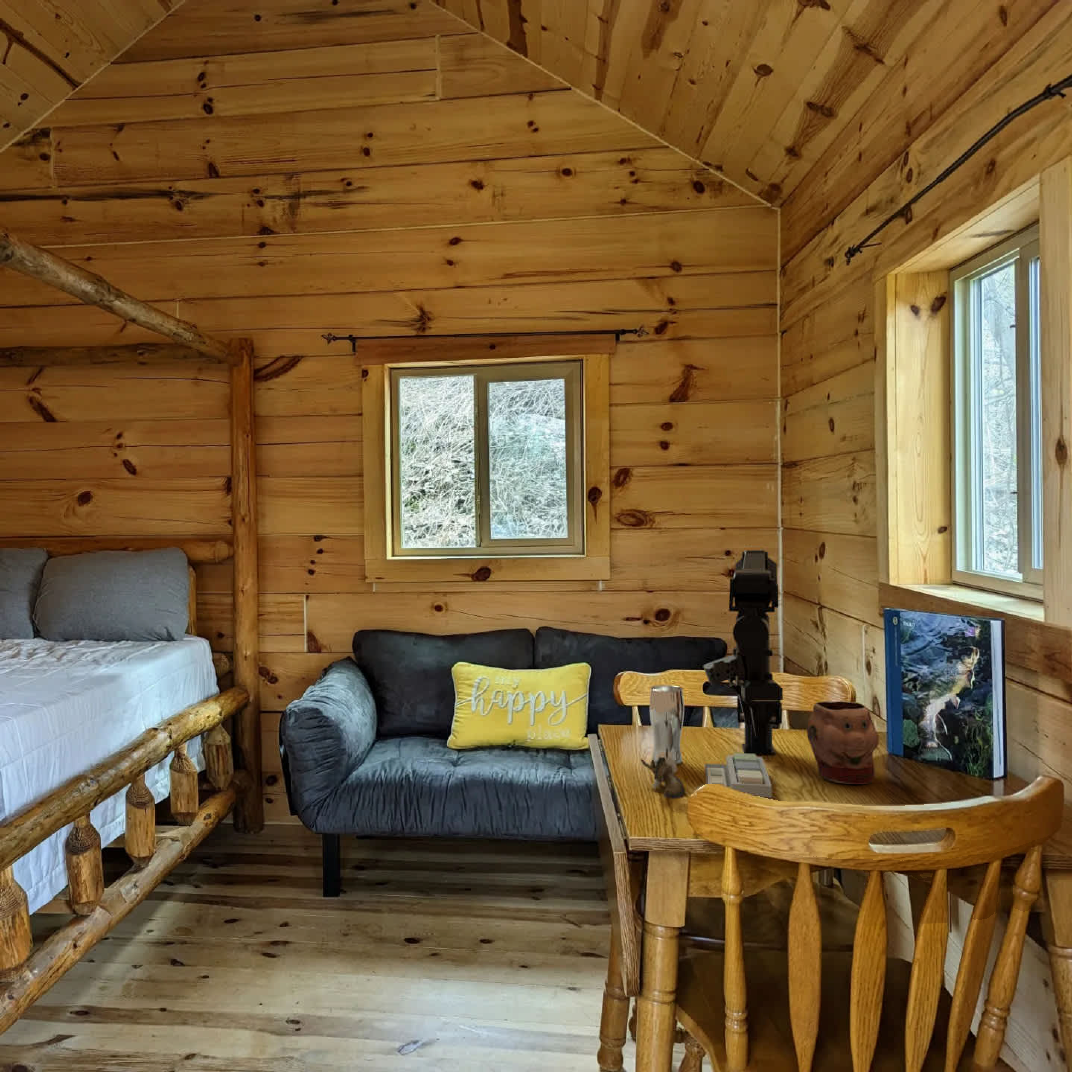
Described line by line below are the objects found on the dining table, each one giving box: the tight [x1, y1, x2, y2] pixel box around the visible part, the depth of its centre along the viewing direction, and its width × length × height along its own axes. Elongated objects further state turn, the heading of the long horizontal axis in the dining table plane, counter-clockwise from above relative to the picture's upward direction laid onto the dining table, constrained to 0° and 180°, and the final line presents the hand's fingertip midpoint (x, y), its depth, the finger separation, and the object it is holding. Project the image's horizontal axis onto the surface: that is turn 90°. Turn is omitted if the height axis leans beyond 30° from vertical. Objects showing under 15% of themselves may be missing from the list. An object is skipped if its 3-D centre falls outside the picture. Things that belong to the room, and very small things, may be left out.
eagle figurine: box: [640, 757, 686, 800], centre depth 140 cm, size 8×7×9 cm
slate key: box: [736, 761, 760, 773], centre depth 142 cm, size 4×4×2 cm
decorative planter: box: [806, 700, 880, 785], centre depth 148 cm, size 20×12×14 cm, turn 3°
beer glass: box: [649, 684, 685, 766], centre depth 158 cm, size 7×7×15 cm
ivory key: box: [738, 770, 763, 784], centre depth 136 cm, size 4×4×2 cm
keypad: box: [704, 755, 774, 800], centre depth 142 cm, size 19×11×3 cm, turn 169°
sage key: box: [733, 752, 757, 764], centre depth 147 cm, size 4×4×2 cm
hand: (753, 730), depth 136 cm, fingers open, 9 cm apart
